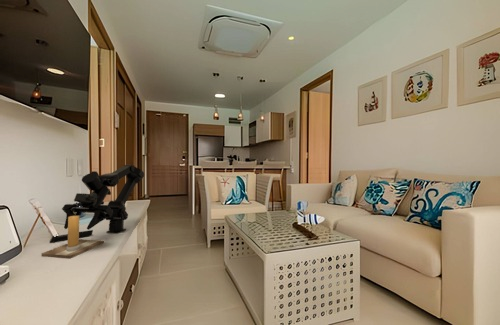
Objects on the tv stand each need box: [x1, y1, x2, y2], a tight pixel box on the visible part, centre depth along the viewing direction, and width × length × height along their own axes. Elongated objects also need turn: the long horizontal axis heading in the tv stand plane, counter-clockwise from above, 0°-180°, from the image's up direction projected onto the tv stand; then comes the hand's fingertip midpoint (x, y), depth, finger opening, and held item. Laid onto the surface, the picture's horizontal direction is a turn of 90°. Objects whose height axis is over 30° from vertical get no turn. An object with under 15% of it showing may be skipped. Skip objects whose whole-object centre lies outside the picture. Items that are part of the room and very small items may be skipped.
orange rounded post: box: [66, 215, 80, 251], centre depth 85 cm, size 4×4×13 cm
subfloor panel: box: [40, 238, 105, 259], centre depth 88 cm, size 16×12×1 cm
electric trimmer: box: [49, 229, 94, 244], centre depth 100 cm, size 4×16×3 cm, turn 133°
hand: (76, 228), depth 86 cm, fingers open, 9 cm apart
